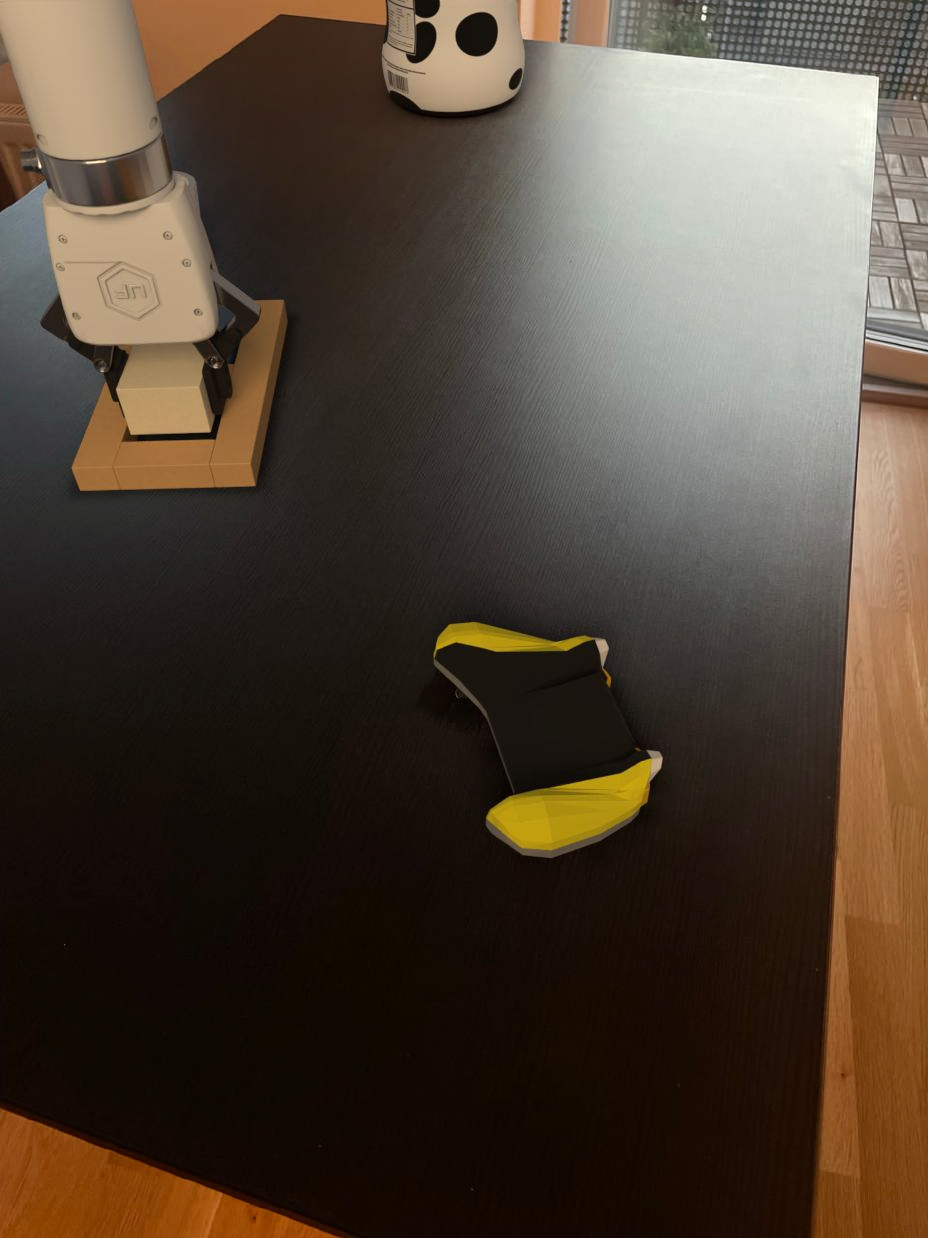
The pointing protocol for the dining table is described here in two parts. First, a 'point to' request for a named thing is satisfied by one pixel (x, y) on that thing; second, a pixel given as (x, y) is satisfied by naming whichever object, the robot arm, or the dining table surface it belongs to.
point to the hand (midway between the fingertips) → (176, 403)
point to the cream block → (165, 390)
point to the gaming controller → (550, 736)
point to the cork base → (192, 463)
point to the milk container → (452, 55)
